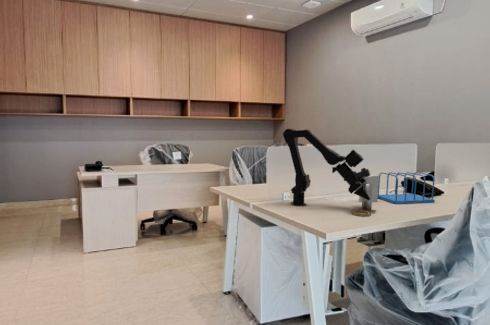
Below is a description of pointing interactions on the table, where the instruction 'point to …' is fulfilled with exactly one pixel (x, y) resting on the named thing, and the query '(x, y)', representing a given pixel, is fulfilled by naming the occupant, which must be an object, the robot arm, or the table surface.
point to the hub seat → (357, 212)
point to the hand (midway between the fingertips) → (370, 198)
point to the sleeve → (368, 203)
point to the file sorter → (405, 191)
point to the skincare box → (373, 180)
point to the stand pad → (371, 210)
